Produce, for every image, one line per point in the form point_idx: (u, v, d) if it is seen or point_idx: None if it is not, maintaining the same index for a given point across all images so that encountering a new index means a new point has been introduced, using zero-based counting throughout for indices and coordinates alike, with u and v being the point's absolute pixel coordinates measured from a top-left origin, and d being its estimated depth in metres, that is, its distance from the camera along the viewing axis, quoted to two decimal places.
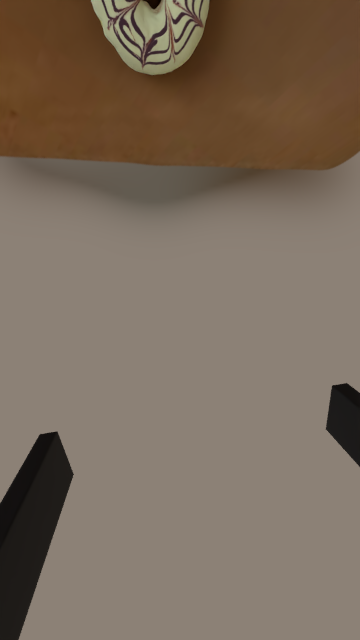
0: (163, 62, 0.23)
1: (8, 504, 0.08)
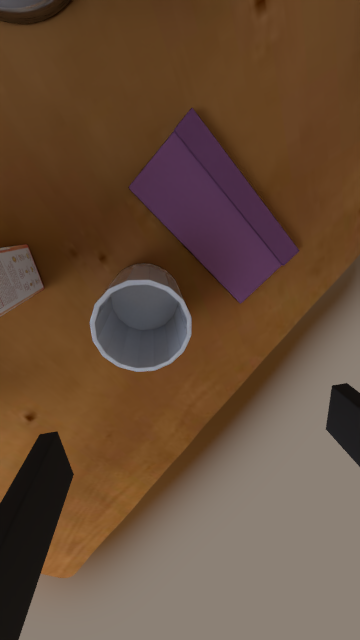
0: None
1: (8, 504, 0.08)
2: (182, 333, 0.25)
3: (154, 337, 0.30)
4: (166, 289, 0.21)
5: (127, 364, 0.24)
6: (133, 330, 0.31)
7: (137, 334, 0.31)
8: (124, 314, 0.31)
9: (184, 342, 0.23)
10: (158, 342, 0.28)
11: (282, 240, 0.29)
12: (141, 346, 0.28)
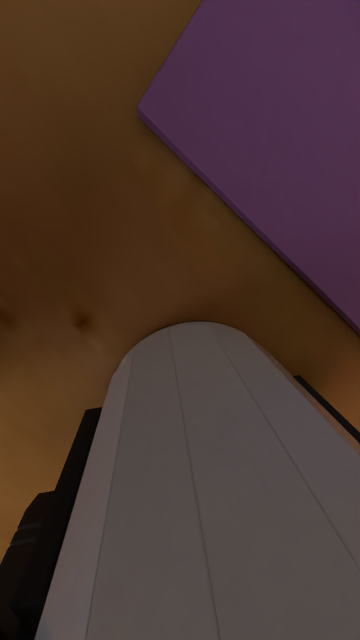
0: None
1: (73, 462, 0.09)
2: None
3: None
4: None
5: None
6: None
7: None
8: None
9: None
10: None
11: None
12: None
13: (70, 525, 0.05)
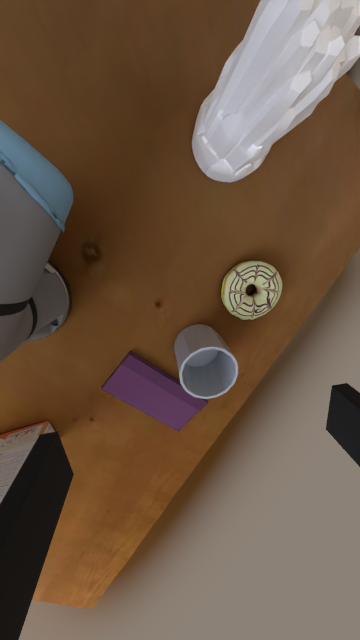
0: (276, 298, 0.41)
1: (8, 504, 0.08)
2: (231, 372, 0.39)
3: (207, 372, 0.45)
4: (223, 350, 0.36)
5: (199, 395, 0.39)
6: (191, 368, 0.46)
7: (195, 371, 0.46)
8: None
9: (234, 378, 0.38)
10: (212, 376, 0.43)
11: (195, 399, 0.49)
12: (201, 380, 0.43)
13: (181, 353, 0.39)
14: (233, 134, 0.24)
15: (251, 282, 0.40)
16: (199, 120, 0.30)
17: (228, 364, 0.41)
